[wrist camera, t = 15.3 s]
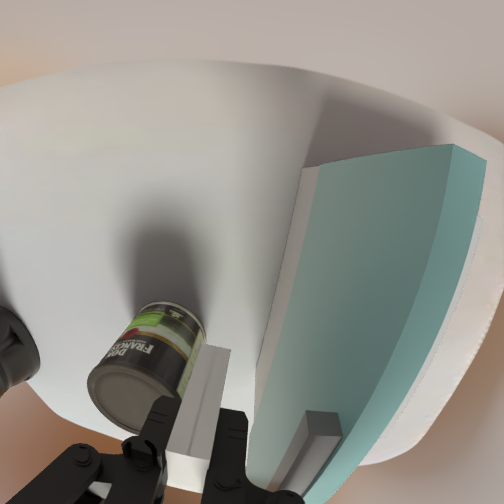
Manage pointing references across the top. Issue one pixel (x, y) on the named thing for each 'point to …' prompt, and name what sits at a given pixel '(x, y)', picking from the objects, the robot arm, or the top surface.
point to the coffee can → (146, 364)
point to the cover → (362, 311)
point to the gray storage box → (287, 280)
